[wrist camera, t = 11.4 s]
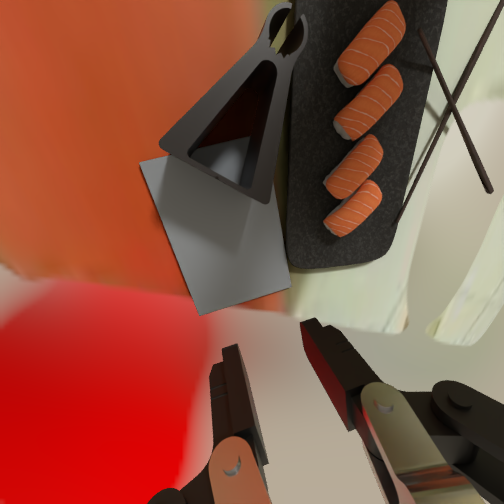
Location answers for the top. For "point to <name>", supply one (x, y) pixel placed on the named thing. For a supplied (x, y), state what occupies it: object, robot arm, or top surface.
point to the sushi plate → (362, 123)
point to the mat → (218, 227)
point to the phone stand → (267, 111)
